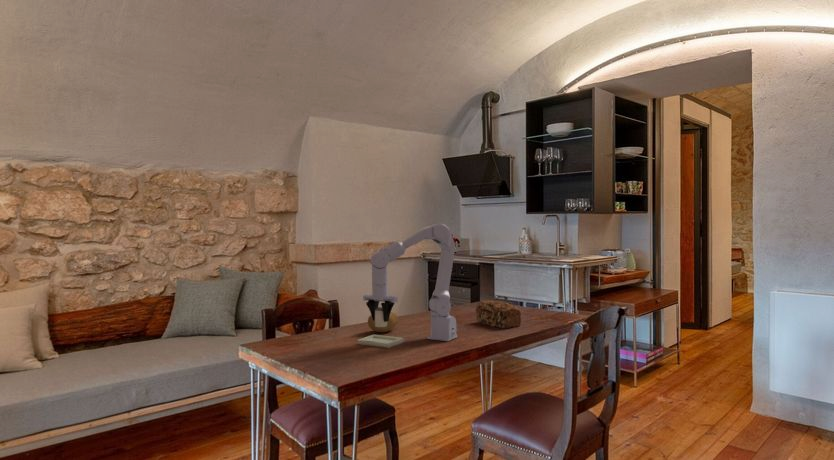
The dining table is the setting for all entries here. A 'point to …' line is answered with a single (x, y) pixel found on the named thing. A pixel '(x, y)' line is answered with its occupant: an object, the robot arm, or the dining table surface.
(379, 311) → the shaker
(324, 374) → the dining table surface
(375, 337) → the tray
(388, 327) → the potato
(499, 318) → the bread
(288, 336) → the dining table surface
